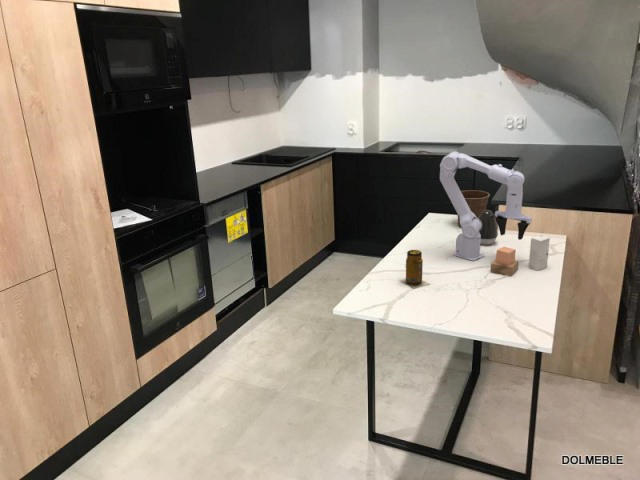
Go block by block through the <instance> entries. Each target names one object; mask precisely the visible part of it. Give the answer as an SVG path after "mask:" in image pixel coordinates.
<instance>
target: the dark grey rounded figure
mask: <svg viewBox="0 0 640 480" xmlns="http://www.w3.org/2000/svg"><path fill="white" fill-rule="evenodd" d="M496 218H497V217H496V216H495V213H493V211H492V210H489V209H486V210H484V211H482V212H481V213H480V215H479V217H478V219H479V220H480V221H481V222H482V228H481V230H480V231H479V233H480V235H481V241H480V245H483V246H486V245H487V246H489V245H492V244H494V243H495V241H496V240H497V237H498V236H499V231H498V224H497V222H496Z"/></svg>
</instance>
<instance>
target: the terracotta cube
mask: <svg viewBox="0 0 640 480" xmlns="http://www.w3.org/2000/svg"><path fill="white" fill-rule="evenodd" d="M516 252H517V251H516V248H512V247H508V246H507V247H506V246H502V247H500V248H497V249H496V254H495V259H496V262H497V263H501V264H504V265H510V264H511V263H513V262H515V260H516Z"/></svg>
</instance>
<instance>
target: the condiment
mask: <svg viewBox="0 0 640 480" xmlns="http://www.w3.org/2000/svg"><path fill="white" fill-rule="evenodd" d="M422 253H423V252H422V251H420V249H409V250H407V252H406V254H407V255H406V260H405V278H404V279H401V280H400V281H401V282H403V283H404V284H406V285H408V286H409V287H411V288H413V289H414V288H415V289H417V288H421V287H425V286H428V285H430V283H429V282H427V281H425V280H424V279H423V266H424V265H423V261H424V260H423V258H422V257H423V256H422Z"/></svg>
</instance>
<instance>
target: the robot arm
mask: <svg viewBox="0 0 640 480" xmlns="http://www.w3.org/2000/svg"><path fill="white" fill-rule="evenodd" d="M439 168H440V169H439V170H440V171H439V181H440V183H441V184H442V186H443V189H444V191H445V193H446V194H447V196H448V198H449V200H450V202H451V203H452V205H453V206H452V207H453V208H454V210H455V211H456V213H457V214H458V215H457V214H456V215H457V217H458V216H459V217H460V225H461V227H460V228H461V233H459V234H458V235H457V236H456V238H455V252H454V254H453V255H454V256H455V257H458V258H461V259H466V260H468V261H472V262H473V261H476V260H478V259H480V258H482V257H484V256H485V254H482V253H481V244H480V241H481V235H480V233H479V231H480V230H481V228H482V222H481V221H480V220H479V219H478V218H477V217H476V216H475V214H474V213H473V212H471V210H470V208H469V206H468V204H467V202H466V200H465V199H464V197H463V195H462V193H461V191H462V190H460V187H459V185H458V183H457V182H456V179H455V175H456V173H457V170H458V169H464V168H469V169H473V170H476V171H478V172H481V173H483V174H485V175H487V176H488V179H491V180H493V181H495V182H498V183H500V184H503V185H506V186H507V192H506V200H505V202H506V203H505V211H503V210H496V211H495V212H494V214H495V216H496V217H495V219H496V223H497V227H498V228H499V233H500V236H504V235H506V227H507V223H508V219H509V220H513V221H517V222H518V223H517V229H518V231H517V232H518V233H517V239H518V240H519V241H521V240H523V238H524V236H525V233H526V230H527V229H528V227H529V225H530V224H531V223H532V222H533V221H532V219H533V218H532V217H531V216H528V215H525V214H522V206H523V196H524V195H523V194H524V192H523V190H524V188H523V185H524V183H525V175H524V174H523V173H522V172H520V171H519V170H516V171H515V170H514V169H508V168H507V167H503V165H502V164H501V163H499V164H493V165H489V164H488V163H485V162H483V161H481V160H478V159H477V158H475V157H472V156H470V155H468V154H466V153H460V152H459V151H455V150H454V151H451V152H450V153H448V154H447V155H445V156H443V158H442V160H441V162H440V164H439Z"/></svg>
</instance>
